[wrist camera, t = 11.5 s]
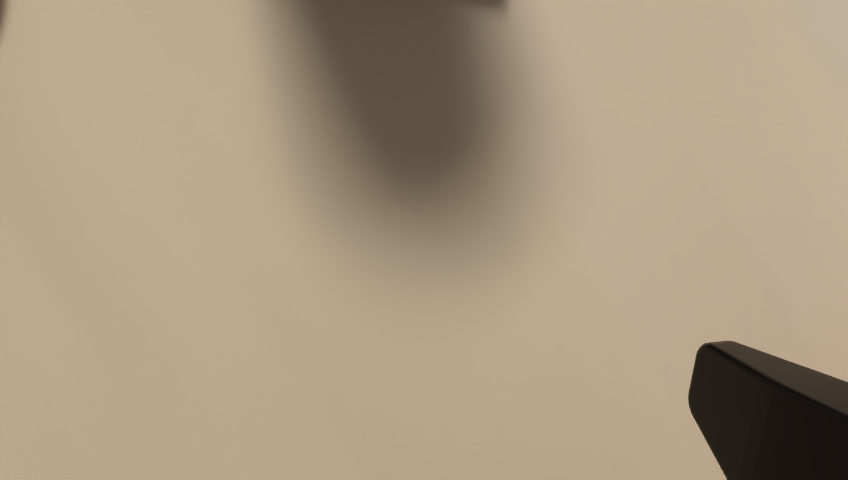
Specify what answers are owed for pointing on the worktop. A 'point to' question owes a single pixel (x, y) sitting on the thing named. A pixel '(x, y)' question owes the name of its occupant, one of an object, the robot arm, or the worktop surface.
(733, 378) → the robot arm
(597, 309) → the worktop surface
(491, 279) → the worktop surface
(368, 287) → the worktop surface
